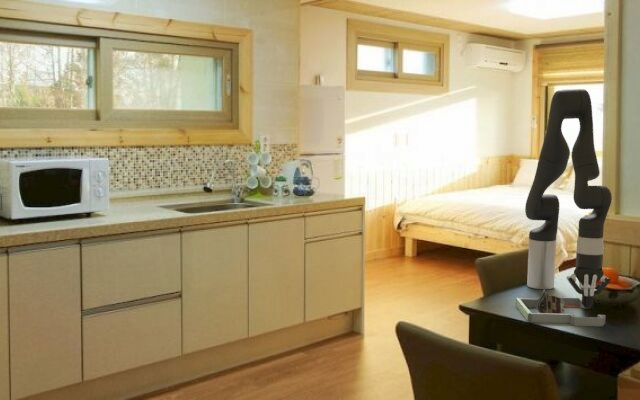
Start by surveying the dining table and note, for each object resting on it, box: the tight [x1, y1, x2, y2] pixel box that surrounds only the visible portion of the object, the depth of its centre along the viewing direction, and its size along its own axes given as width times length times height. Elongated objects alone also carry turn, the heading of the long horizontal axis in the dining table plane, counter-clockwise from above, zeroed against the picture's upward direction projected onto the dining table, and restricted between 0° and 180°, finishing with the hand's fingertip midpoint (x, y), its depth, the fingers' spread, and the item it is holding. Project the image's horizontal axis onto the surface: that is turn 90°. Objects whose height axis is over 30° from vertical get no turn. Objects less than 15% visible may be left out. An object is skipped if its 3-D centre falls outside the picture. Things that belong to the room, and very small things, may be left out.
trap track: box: [515, 296, 606, 327], centre depth 207 cm, size 23×22×2 cm
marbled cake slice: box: [535, 288, 566, 314], centre depth 208 cm, size 10×7×12 cm
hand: (586, 307), depth 206 cm, fingers closed
